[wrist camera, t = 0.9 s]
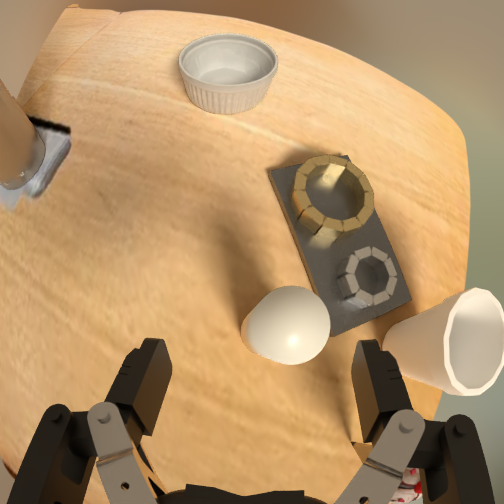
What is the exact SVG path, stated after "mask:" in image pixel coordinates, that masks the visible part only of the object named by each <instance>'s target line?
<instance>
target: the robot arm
mask: <svg viewBox="0 0 504 504" xmlns="http://www.w3.org/2000/svg"><path fill="white" fill-rule="evenodd" d="M44 154H45V145H44V143H43V141H42V140H41V138H40V137H39V133H38V132H37V130H36V129H35V127H34V126H33V124H32V123H31V122H30V120H29V119H28V117H27V116H26V114H25V113H24V111H23V110H22V108H21V107H20V105H19V104H18V102H17V101H16V99H15V98H14V97H12V96H11V95H10V93H9V92H8V90H7V89H6V87H5V85H4V84H3V82H2V81H1V79H0V184H1V185H2V186H3V187H5V188H6V189H16V188H19V187H21V186H22V185H24V184H25V183H26V182H28V181H29V180H30V179H31V178H32V177H33V176H34V174H35V173H36V172H37V170H38V169H39V167H40V165H41V163H42V161H43V158H44ZM171 375H172V363H171V360H170V357H169V354H168V351H167V347H166V344H165V341H164V340H163V339H156V338H145V339H144V341H143V343H142V345H141V347H140V349H137V348H135V349H133V350H132V351H131V352H130V353H129V354H128V355H127V356H126V358H125V360H124V362H123V364H122V367H121V368H120V370H119V372H118V374H117V376H116V378H115V380H114V382H113V384H112V386H111V388H110V391H109V393H108V395H107V397H106V399H105V401H104V402H101V403H98V404H96V405H94V406H93V407H92V408H91V409H90V410H89V411H83V412H71V411H70V410H69V409H68V408H67V407H66V406H65V405H63V404H55V405H52V406H50V407H49V408H48V409H47V410H46V411H45V413H44V415H43V417H42V419H41V421H40V423H39V425H38V427H37V429H36V432H35V434H34V436H33V438H32V440H31V443H30V445H29V447H28V450H27V452H26V454H25V457H24V459H23V461H22V464H21V466H20V469H19V471H18V474H17V476H16V479H15V482H14V484H13V487H12V490H11V493H10V496H9V498H8V501H7V504H83V500H84V497H85V493H86V490H87V486H88V483H89V480H90V476H91V473H92V470H93V467H94V464H95V460H96V457H97V456H98V457H99V461H97V462H96V466H97V470H98V472H99V475H100V478H101V481H102V484H103V486H104V489H105V492H106V494H107V497H108V499H109V502H110V504H327V503H325V502H323V501H321V500H319V499H316V498H312V497H309V496H304V490H299V491H272V492H267V493H261V494H256V495H250V496H240V495H236V494H233V493H230V492H227V491H224V490H221V489H217V488H215V487H206V486H199V485H192V484H186V488H185V489H184V490H177V491H173V492H169V493H168V492H167V490H166V488H165V487H164V485H163V484H162V482H161V481H160V479H159V478H158V476H157V474H156V472H155V470H154V468H153V466H152V464H151V462H150V460H149V458H148V456H147V454H146V452H145V450H144V448H143V445H142V443H141V442H140V441H141V438H142V435H147V436H152V433H153V430H154V427H155V424H156V421H157V418H158V415H159V412H160V409H161V406H162V403H163V400H164V396H165V394H166V391H167V388H168V385H169V382H170V379H171ZM351 375H352V382H353V387H354V392H355V397H356V403H357V408H358V413H359V419H360V425H361V430H362V436H363V442H364V443H369V442H372V447H373V449H372V451H371V453H370V454H369V456H368V457H367V459H366V460H365V462H364V463H363V465H362V466H361V468H360V469H359V471H358V472H357V473H356V475H355V476H354V478H353V479H352V480H351V482H350V483H349V485H348V486H347V487H346V489H345V490H344V491H343V493H342V494H341V495H340V497H339V498H338V499H337V500H336V502H335V503H334V504H388V503H389V502H390V500H391V498H392V497H393V495H394V493H395V492H396V490H397V488H398V487H399V485H400V483H401V481H402V479H403V473H404V471H405V469H406V468H418V469H419V474H420V481H421V489H422V496H423V504H495V501H494V496H493V491H492V486H491V482H490V477H489V473H488V469H487V465H486V461H485V457H484V454H483V450H482V447H481V443H480V440H479V436H478V433H477V430H476V427H475V424H474V422H473V421H472V420H471V419H470V418H469V417H467V416H465V415H461V414H458V415H454V416H452V417H450V418H449V420H447V422H439V421H429V420H425V419H423V417H422V416H421V415H420V414H419V413H417V412H416V411H414V410H413V408H412V405H411V402H410V399H409V395H408V392H407V389H406V386H405V383H404V380H403V379H402V375H401V372H400V371H399V366H398V363H397V361H396V359H395V357H394V356H393V355H392V354H391V353H390V352H389V351H381V350H380V347H379V344H378V341H377V340H376V339H372V340H359V341H358V342H357V346H356V350H355V355H354V359H353V363H352V369H351Z"/></svg>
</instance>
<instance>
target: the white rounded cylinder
mask: <svg viewBox="0 0 504 504" xmlns="http://www.w3.org/2000/svg"><path fill="white" fill-rule="evenodd" d="M329 333H330V317H329V313H328V310H327V308H326V306H325V304H324V303H323V301H322V300H321V299H320V298H319V297H318V296H317V295H316V294H315V293H313V292H312V291H310V290H308V289H306V288H303V287H299V286H284V287H280V288H277V289H275V290H273V291H271V292H270V293H268V294H267V295H266V296H265V297H264V298H263V299H262V300H261V301H260V302H259V303H258V304H257V305H256V306H255V308H254V309H253V310H252V311H251V312H250V313H249V314H248V315H247V316H246V318H245V319H244V321H243V323H242V326H241V338H242V341H243V343H244V345H245V346H246V347H247V348H248V349H249V350H250V351H251V352H253V353H255V354H257V355H260V356H263V357H265V358H268V359H271V360H273V361H276V362H279V363H282V364H288V365H295V364H301V363H304V362H306V361H309V360H311V359H312V358H314V357H315V356H316V355H317V354H318V353H319V352H320V351H321V350H322V349H323V347H324V346H325V344H326V342H327V340H328V337H329Z"/></svg>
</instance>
